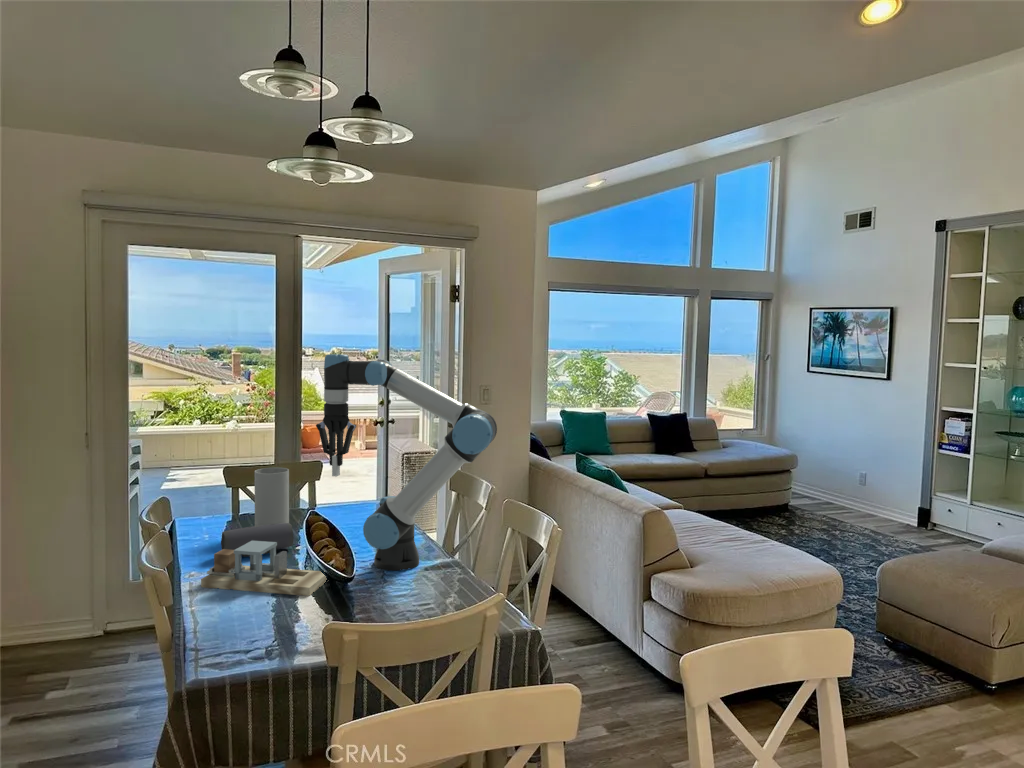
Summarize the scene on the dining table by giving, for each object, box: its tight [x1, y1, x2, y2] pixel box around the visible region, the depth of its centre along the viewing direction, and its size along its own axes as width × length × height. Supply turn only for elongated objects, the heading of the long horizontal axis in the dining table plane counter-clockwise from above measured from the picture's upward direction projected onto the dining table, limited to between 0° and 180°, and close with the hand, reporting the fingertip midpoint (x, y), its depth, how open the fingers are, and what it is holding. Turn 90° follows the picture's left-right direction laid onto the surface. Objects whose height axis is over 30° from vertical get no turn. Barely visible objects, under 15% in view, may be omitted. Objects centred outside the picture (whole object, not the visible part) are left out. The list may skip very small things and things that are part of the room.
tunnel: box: [234, 541, 277, 581], centre depth 209 cm, size 9×10×9 cm
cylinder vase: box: [254, 467, 290, 526], centre depth 260 cm, size 12×12×25 cm
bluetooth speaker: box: [220, 522, 295, 558], centre depth 237 cm, size 23×9×10 cm, turn 123°
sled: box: [206, 550, 288, 579], centre depth 210 cm, size 24×6×7 cm, turn 81°
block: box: [213, 548, 235, 572], centre depth 211 cm, size 5×5×6 cm
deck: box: [200, 564, 327, 597], centre depth 209 cm, size 35×14×3 cm, turn 81°
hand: (336, 475), depth 216 cm, fingers closed
